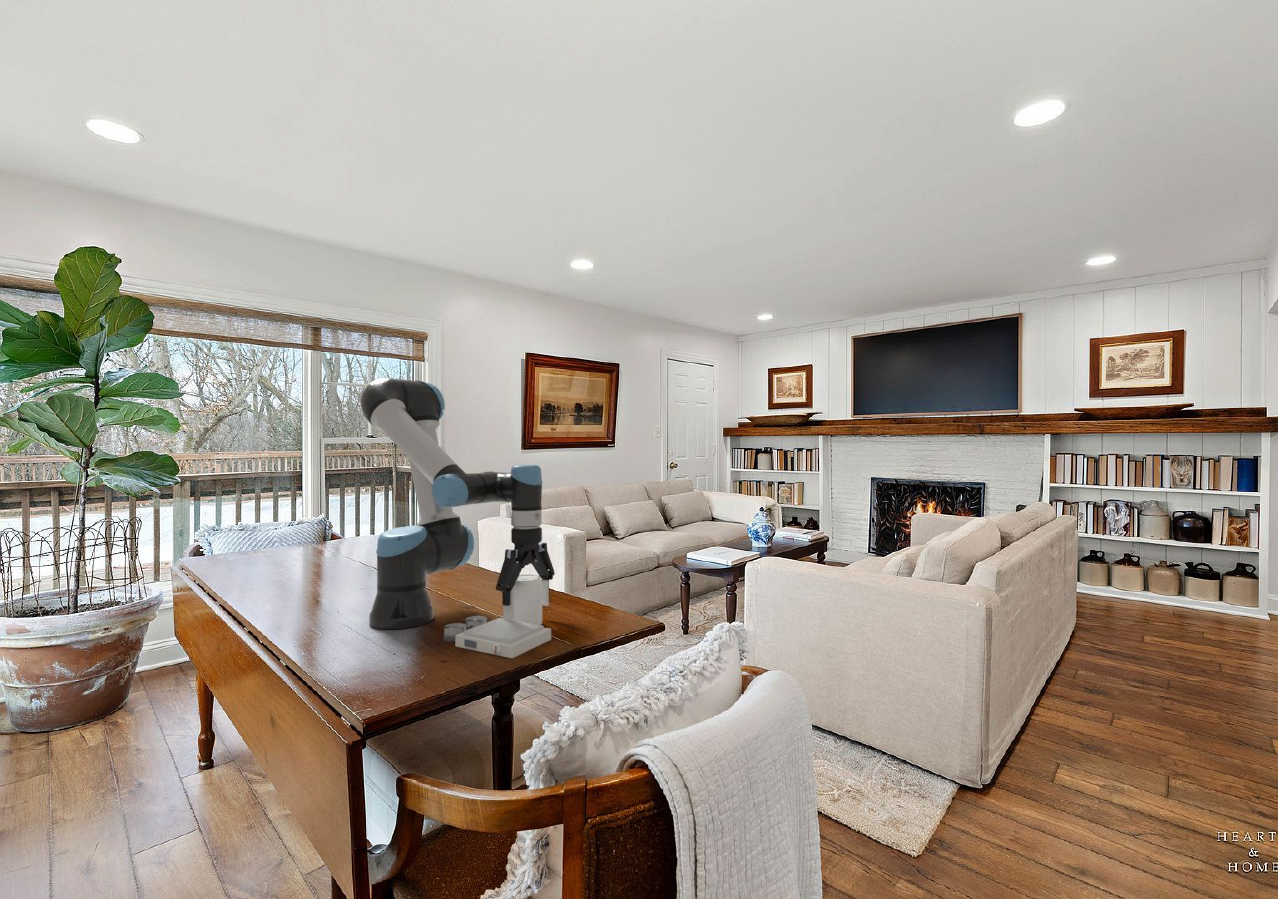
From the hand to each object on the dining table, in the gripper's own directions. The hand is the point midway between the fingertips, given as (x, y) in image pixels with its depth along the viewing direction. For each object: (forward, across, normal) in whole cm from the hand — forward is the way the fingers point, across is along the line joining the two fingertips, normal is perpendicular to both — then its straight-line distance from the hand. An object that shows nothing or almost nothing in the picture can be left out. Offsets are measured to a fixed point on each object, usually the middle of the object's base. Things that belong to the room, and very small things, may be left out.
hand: (526, 612), depth 152 cm
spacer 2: (+3, -9, +8) cm, 13 cm away
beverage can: (+4, 0, 0) cm, 4 cm away
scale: (+3, -13, -4) cm, 14 cm away
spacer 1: (+3, -16, +8) cm, 18 cm away
